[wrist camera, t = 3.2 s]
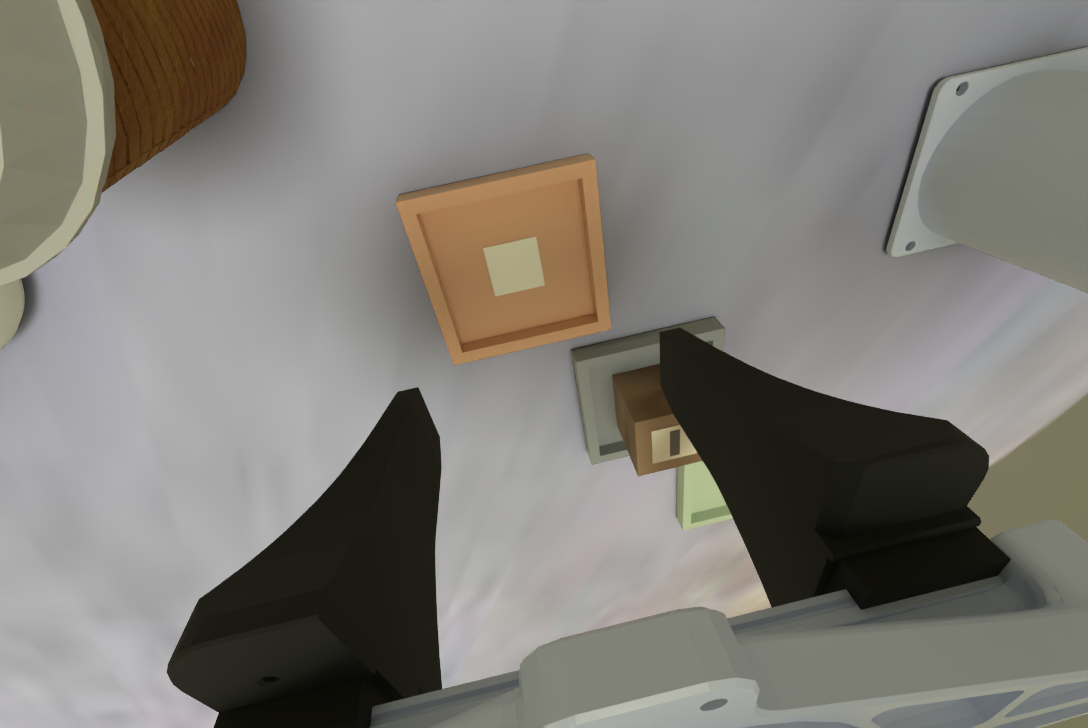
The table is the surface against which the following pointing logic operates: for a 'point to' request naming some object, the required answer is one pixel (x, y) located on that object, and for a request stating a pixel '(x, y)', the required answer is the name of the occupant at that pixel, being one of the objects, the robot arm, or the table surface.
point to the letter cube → (649, 423)
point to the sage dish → (699, 497)
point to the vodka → (10, 309)
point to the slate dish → (618, 357)
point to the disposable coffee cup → (98, 104)
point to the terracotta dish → (512, 257)
